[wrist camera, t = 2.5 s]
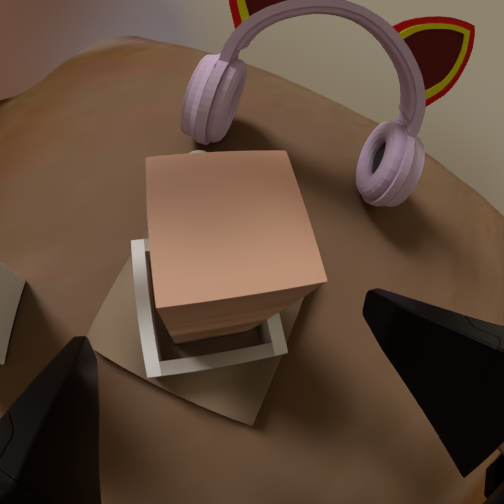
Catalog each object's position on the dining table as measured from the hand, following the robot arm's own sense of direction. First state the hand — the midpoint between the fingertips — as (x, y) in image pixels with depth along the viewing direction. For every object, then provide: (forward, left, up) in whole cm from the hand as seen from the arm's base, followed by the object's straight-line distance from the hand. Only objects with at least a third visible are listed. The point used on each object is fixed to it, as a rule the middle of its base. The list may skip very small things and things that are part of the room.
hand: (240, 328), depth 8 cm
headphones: (+1, -19, -12) cm, 23 cm away
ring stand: (+2, -2, -12) cm, 12 cm away
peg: (+2, -2, -10) cm, 11 cm away
